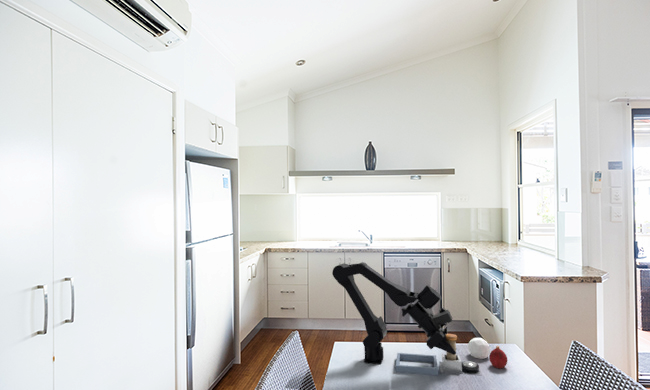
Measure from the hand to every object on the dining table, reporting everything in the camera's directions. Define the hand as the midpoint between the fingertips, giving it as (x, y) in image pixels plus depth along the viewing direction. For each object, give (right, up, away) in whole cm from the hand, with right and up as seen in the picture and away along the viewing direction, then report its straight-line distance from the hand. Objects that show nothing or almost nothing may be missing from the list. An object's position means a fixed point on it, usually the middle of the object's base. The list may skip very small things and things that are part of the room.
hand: (455, 351), depth 128 cm
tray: (-13, -7, +2) cm, 15 cm away
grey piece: (+1, -7, 0) cm, 7 cm away
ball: (+13, -7, +10) cm, 18 cm away
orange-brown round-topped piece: (-1, -6, 0) cm, 6 cm away
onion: (+15, -6, 0) cm, 17 cm away
